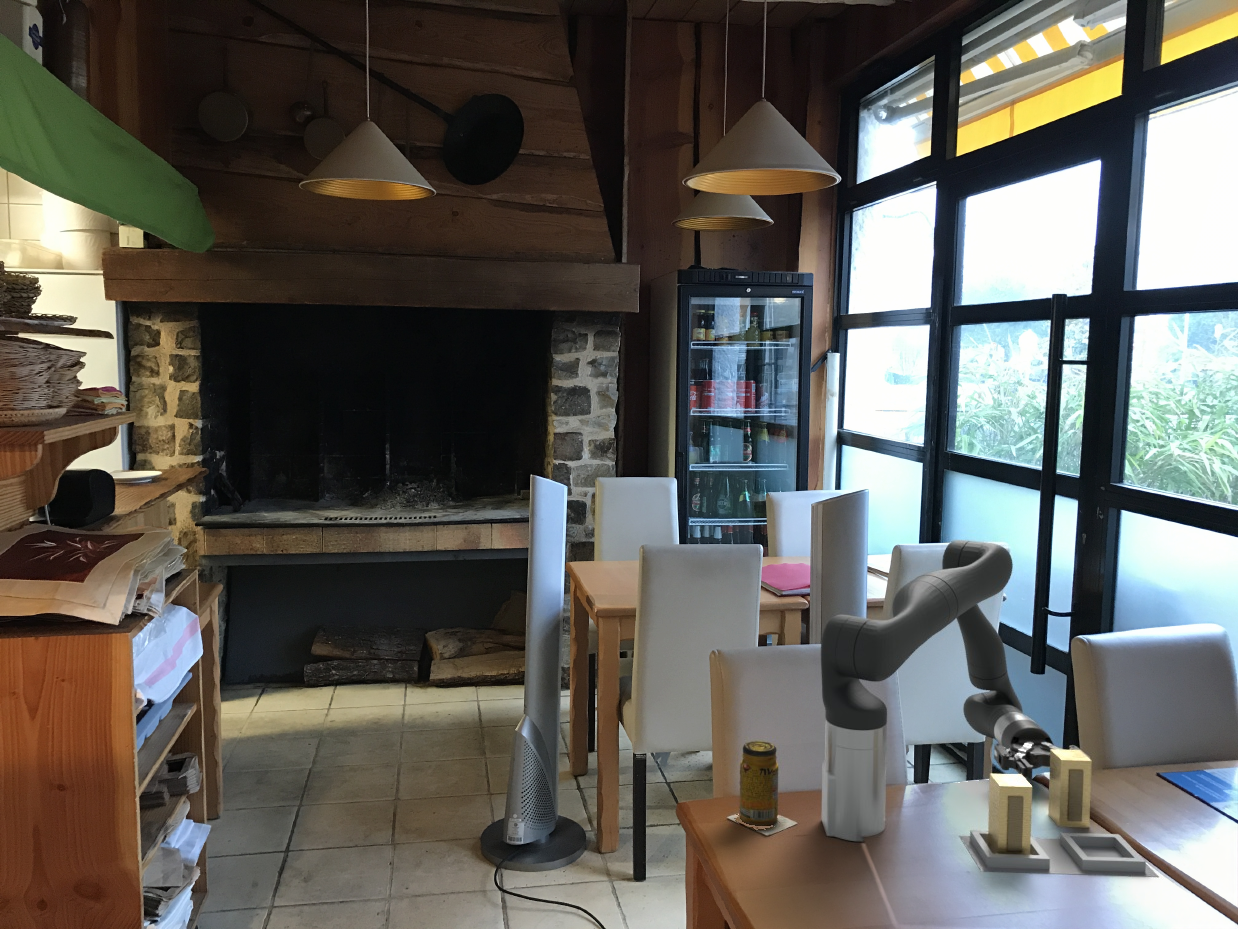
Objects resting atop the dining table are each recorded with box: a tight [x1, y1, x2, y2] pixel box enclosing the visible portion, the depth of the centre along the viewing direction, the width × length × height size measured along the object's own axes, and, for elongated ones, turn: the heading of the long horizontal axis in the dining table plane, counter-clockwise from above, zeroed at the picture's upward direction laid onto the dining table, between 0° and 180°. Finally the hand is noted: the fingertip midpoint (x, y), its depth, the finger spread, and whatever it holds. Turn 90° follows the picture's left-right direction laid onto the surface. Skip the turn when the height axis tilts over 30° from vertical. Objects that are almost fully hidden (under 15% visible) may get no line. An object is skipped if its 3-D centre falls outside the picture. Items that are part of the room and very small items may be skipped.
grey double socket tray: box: [959, 829, 1160, 878], centre depth 142 cm, size 24×11×2 cm, turn 86°
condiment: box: [726, 740, 798, 836], centre depth 155 cm, size 7×8×12 cm
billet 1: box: [987, 773, 1033, 855], centre depth 142 cm, size 4×5×11 cm
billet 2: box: [1047, 749, 1092, 829], centre depth 153 cm, size 4×5×11 cm
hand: (1057, 774), depth 158 cm, fingers open, 8 cm apart
